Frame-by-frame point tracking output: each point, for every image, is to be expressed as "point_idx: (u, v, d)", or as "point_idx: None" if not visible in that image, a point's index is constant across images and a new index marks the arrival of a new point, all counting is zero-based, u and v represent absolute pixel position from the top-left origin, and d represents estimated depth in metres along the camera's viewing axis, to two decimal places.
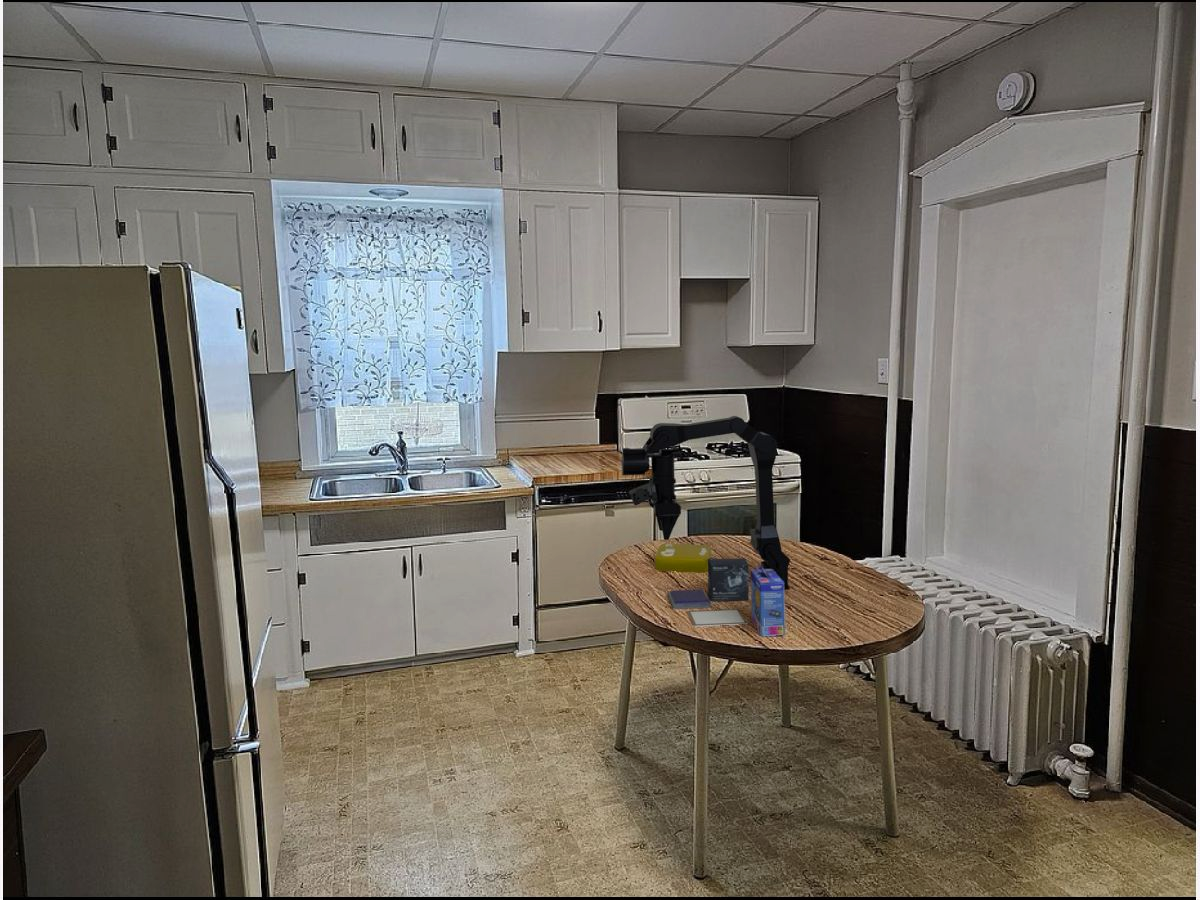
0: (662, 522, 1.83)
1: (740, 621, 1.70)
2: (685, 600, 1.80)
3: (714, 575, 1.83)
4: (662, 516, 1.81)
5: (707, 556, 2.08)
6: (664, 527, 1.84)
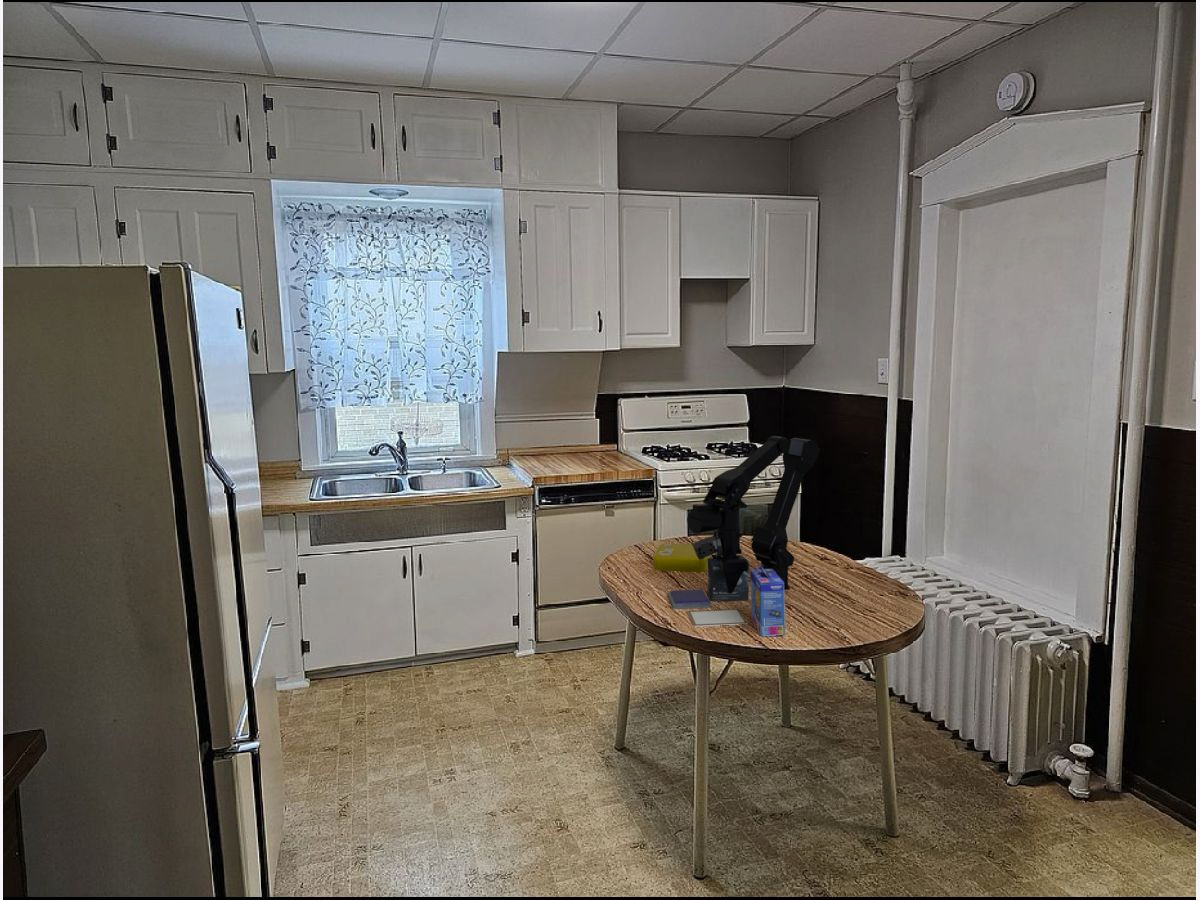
0: (727, 576, 1.81)
1: (740, 621, 1.70)
2: (685, 600, 1.80)
3: (714, 575, 1.83)
4: None
5: None
6: (729, 581, 1.81)
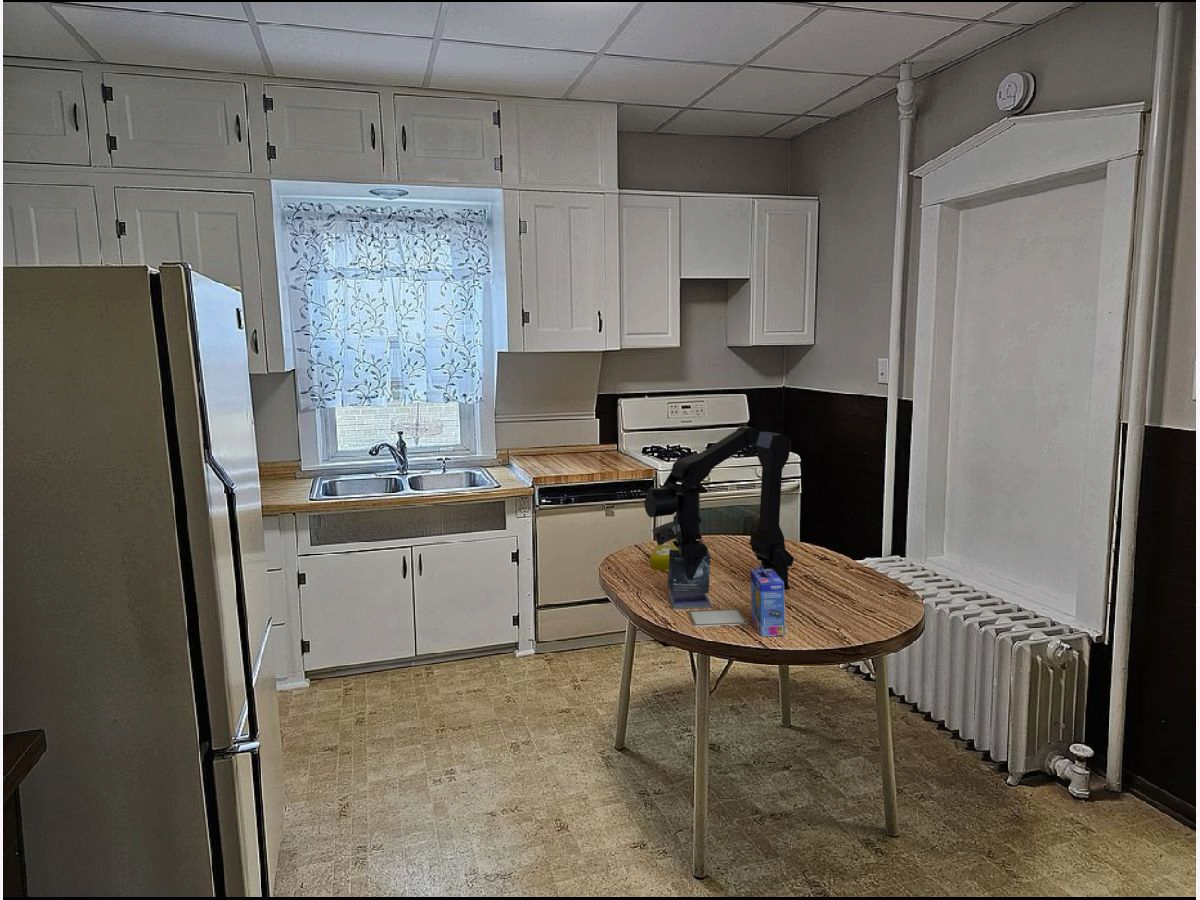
0: (686, 561, 1.78)
1: (740, 621, 1.70)
2: (685, 600, 1.80)
3: (676, 566, 1.80)
4: None
5: None
6: (689, 567, 1.78)
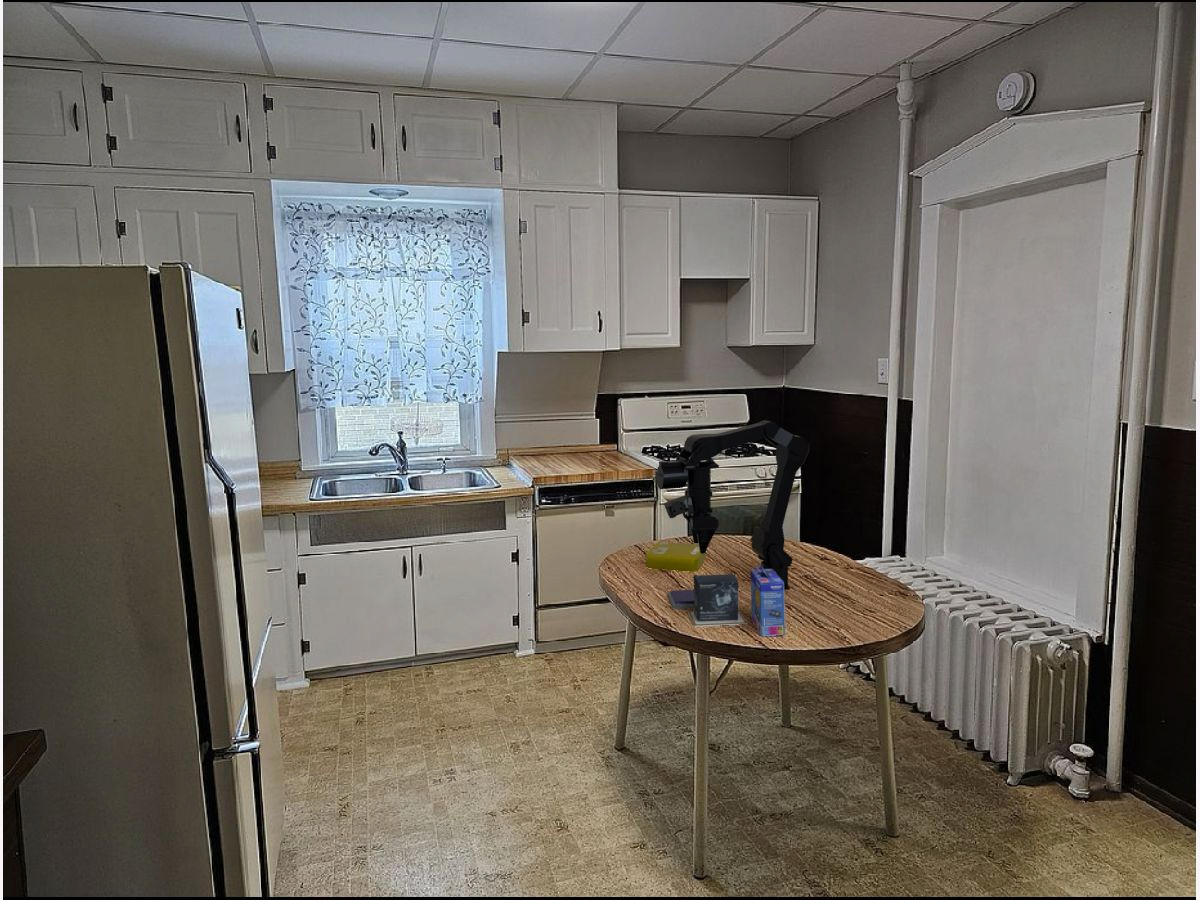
0: (699, 536, 1.80)
1: (740, 621, 1.70)
2: (685, 600, 1.80)
3: (702, 593, 1.69)
4: (699, 530, 1.78)
5: (697, 555, 2.09)
6: (701, 541, 1.81)
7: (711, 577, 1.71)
